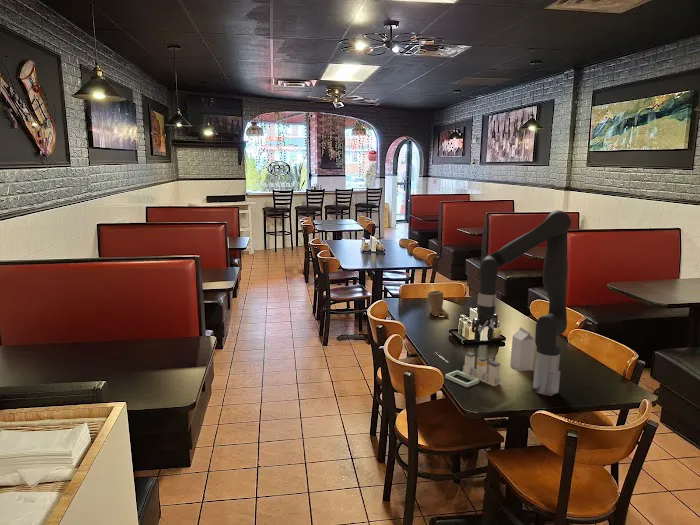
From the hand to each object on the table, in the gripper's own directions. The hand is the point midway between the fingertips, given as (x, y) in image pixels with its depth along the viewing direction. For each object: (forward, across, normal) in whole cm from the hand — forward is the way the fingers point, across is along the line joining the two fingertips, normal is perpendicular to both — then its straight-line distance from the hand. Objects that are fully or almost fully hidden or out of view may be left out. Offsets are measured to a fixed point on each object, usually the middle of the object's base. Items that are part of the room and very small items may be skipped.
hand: (483, 339), depth 219 cm
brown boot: (+20, +58, +79) cm, 100 cm away
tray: (+19, -9, +3) cm, 21 cm away
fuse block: (+19, 0, 0) cm, 19 cm away
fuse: (+17, 0, 0) cm, 17 cm away
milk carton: (+19, +27, -2) cm, 33 cm away
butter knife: (+20, +4, +22) cm, 29 cm away
